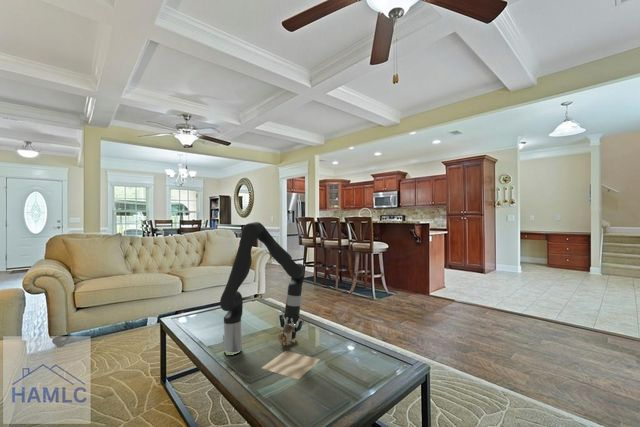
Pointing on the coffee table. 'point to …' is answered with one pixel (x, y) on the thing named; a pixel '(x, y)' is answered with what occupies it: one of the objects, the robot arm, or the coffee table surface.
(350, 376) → the coffee table surface
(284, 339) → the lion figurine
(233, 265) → the robot arm
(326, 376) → the coffee table surface
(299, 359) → the wooden board
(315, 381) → the coffee table surface
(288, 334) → the white block
